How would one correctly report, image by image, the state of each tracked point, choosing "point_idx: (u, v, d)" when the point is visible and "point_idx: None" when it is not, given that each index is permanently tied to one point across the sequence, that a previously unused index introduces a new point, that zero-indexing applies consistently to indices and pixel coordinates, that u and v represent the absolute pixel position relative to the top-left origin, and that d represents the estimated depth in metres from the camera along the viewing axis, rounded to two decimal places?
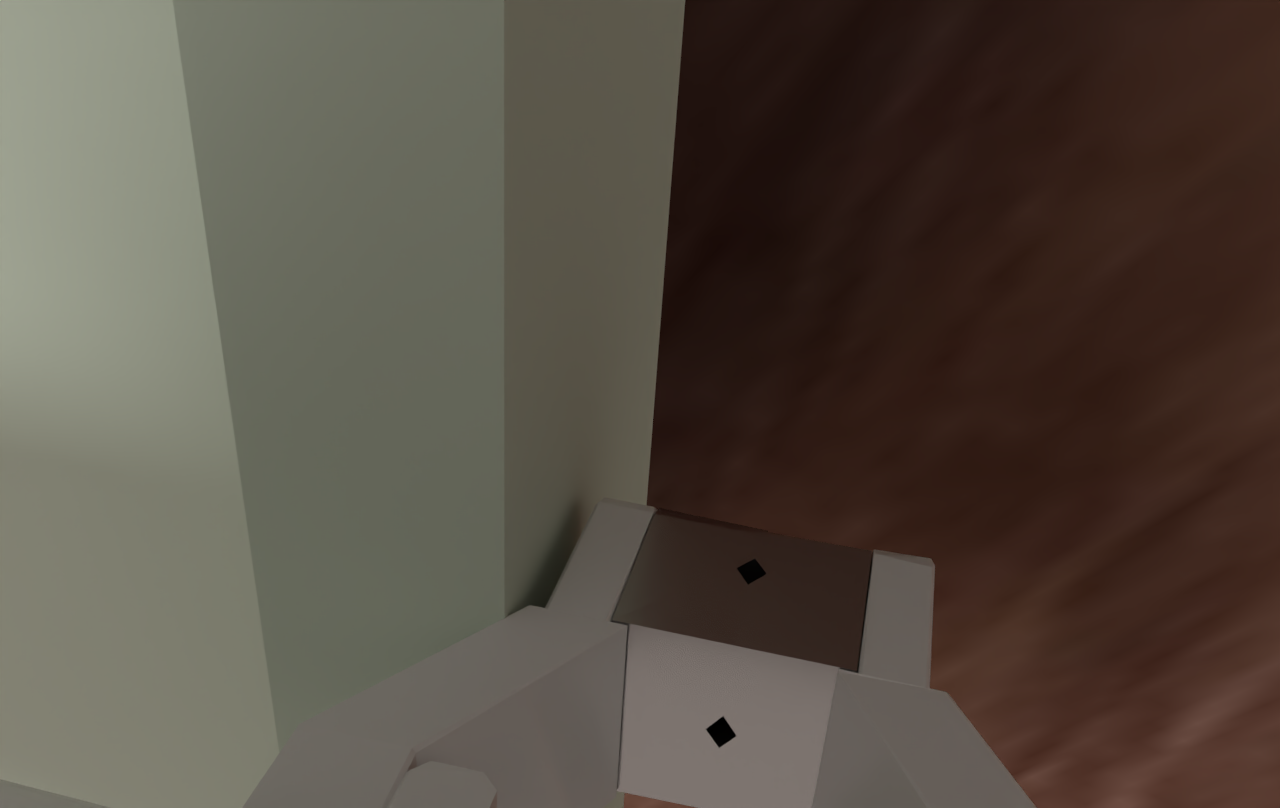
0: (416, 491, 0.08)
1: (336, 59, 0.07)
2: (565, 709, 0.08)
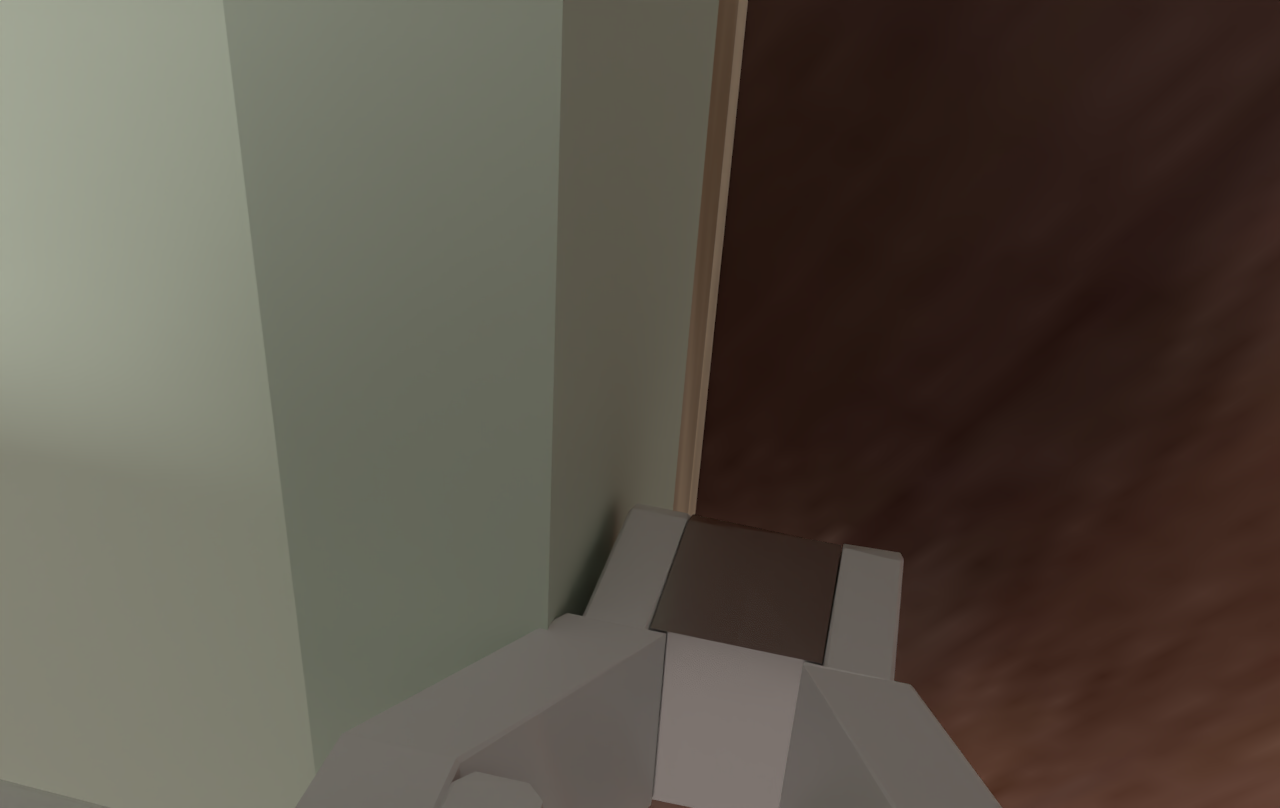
0: (461, 502, 0.08)
1: (390, 69, 0.07)
2: (605, 718, 0.08)
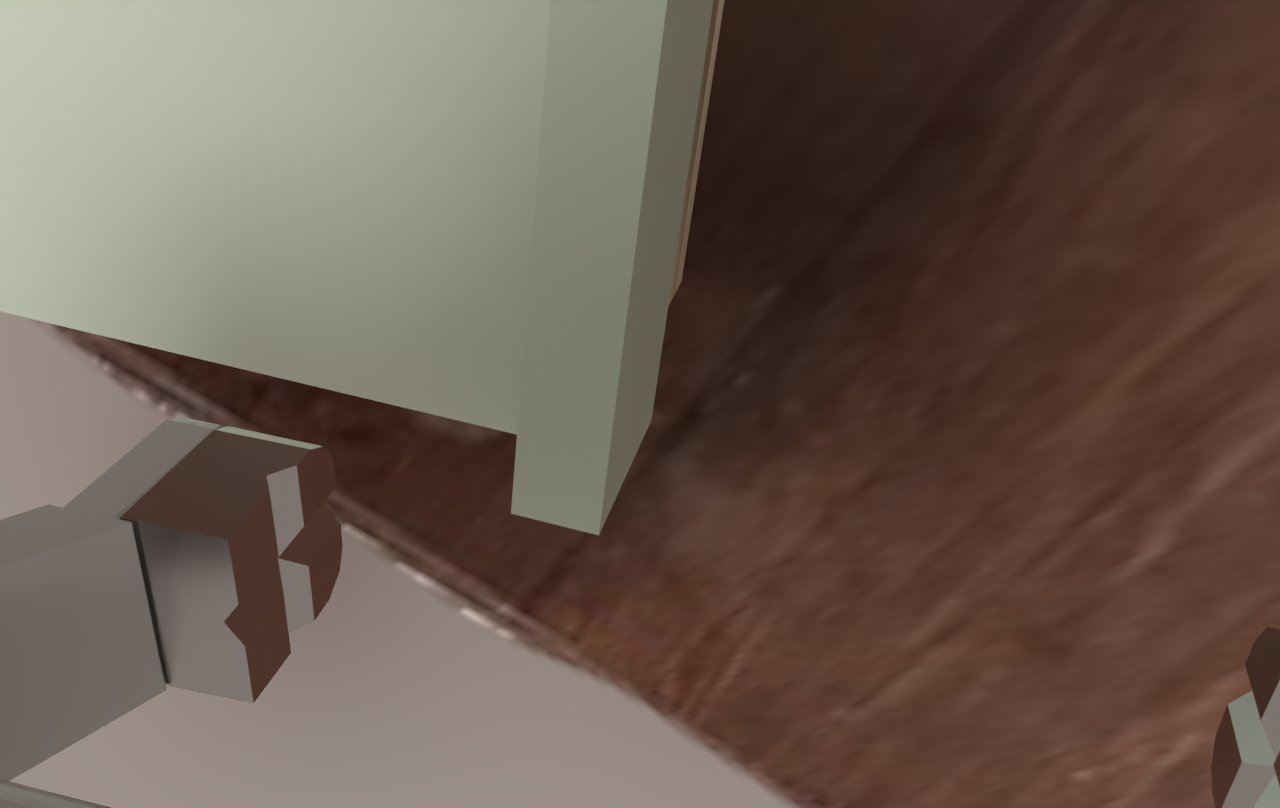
0: (619, 84, 0.20)
1: None
2: (64, 597, 0.09)
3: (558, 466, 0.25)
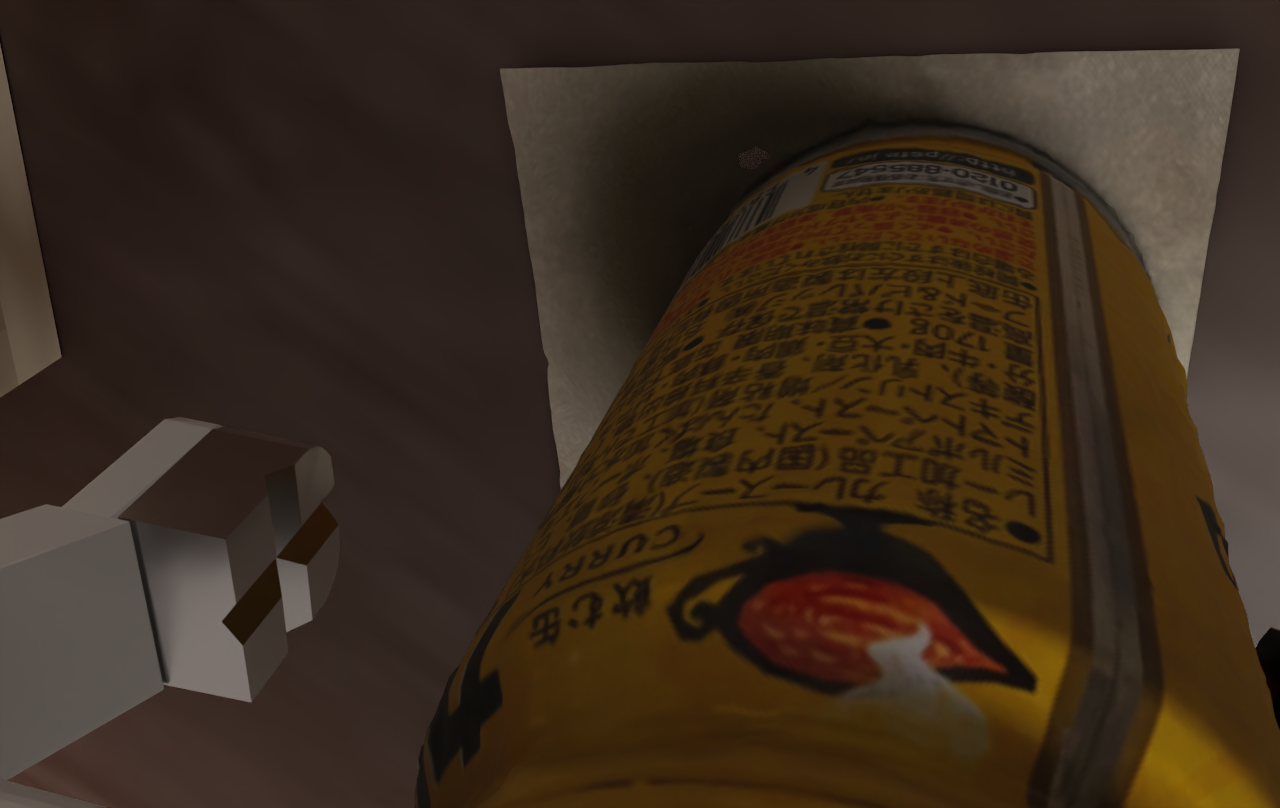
0: None
1: None
2: (62, 596, 0.09)
3: None
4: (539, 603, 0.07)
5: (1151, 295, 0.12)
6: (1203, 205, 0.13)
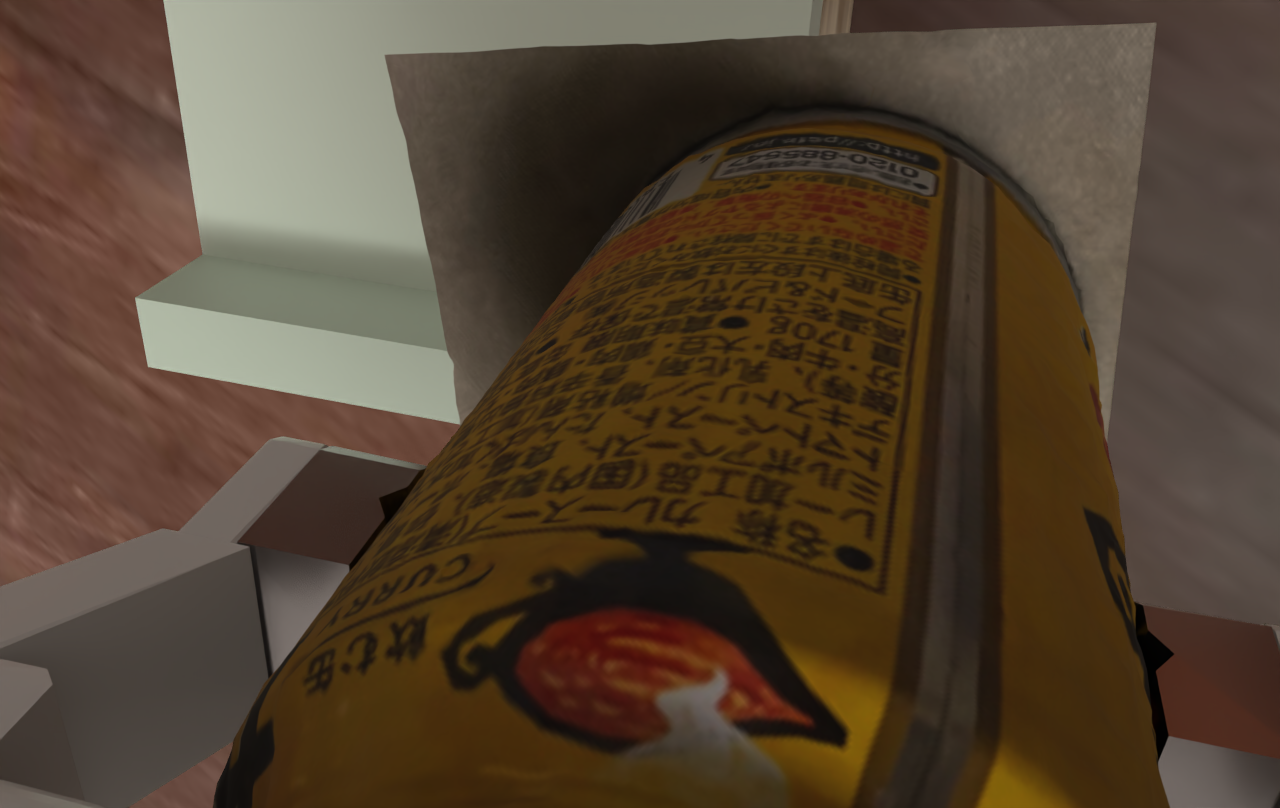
0: None
1: None
2: (183, 624, 0.09)
3: (193, 340, 0.30)
4: (319, 643, 0.07)
5: (1063, 287, 0.11)
6: (1125, 191, 0.13)
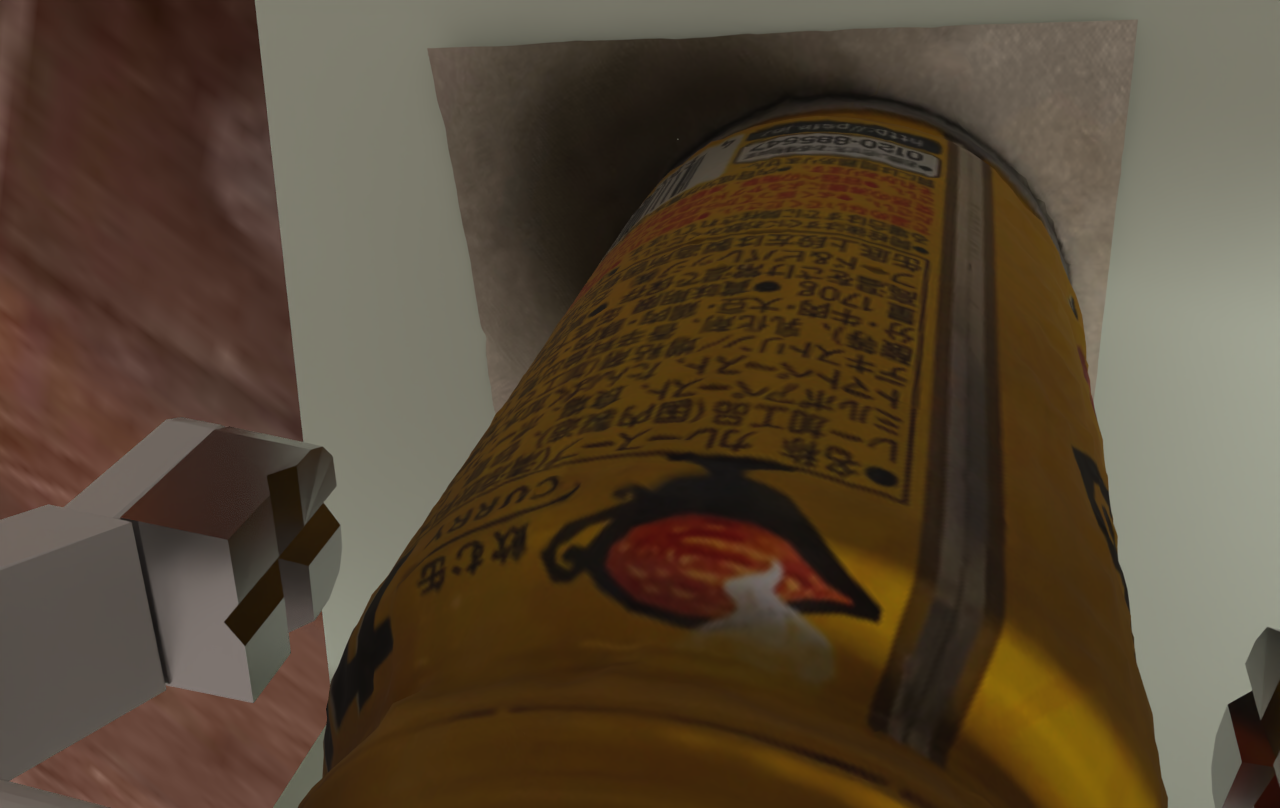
0: None
1: None
2: (64, 597, 0.09)
3: None
4: (427, 555, 0.08)
5: (1054, 260, 0.13)
6: (1110, 173, 0.14)
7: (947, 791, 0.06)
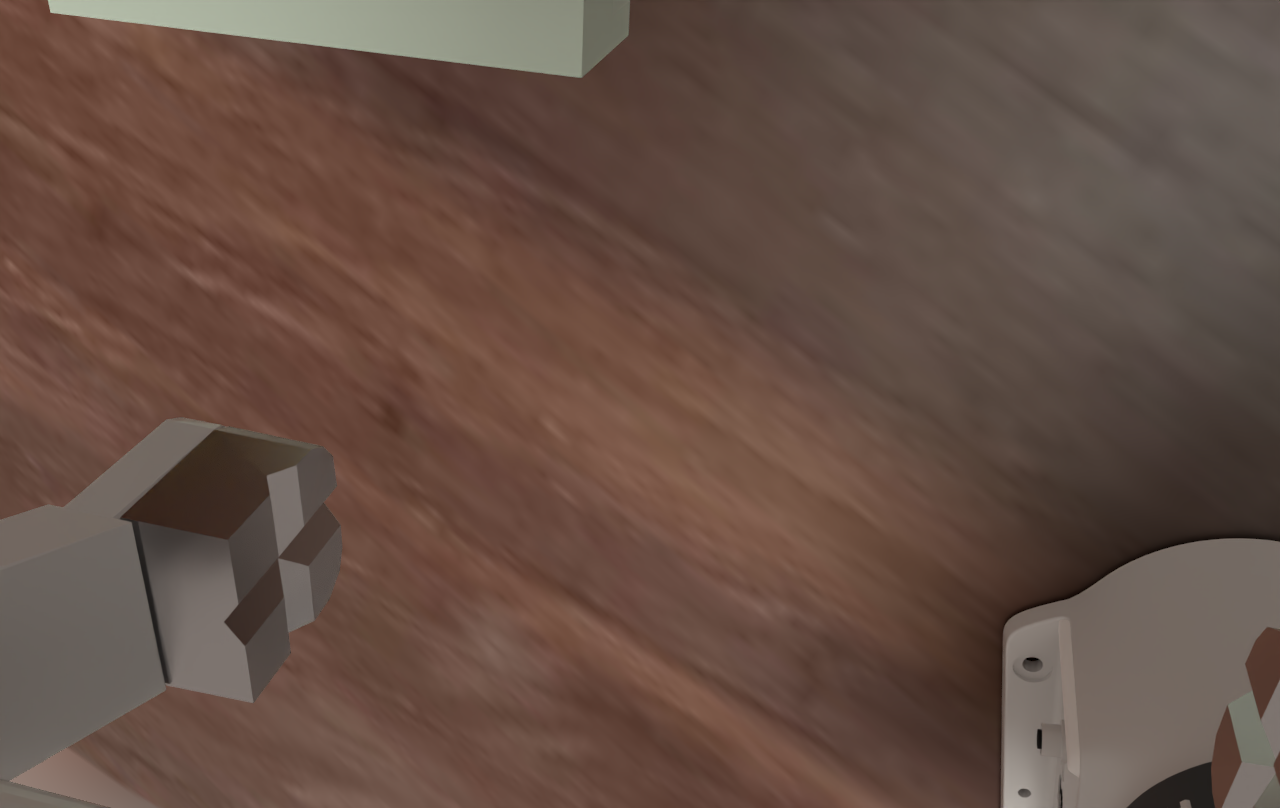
0: (360, 27, 0.32)
1: (461, 25, 0.31)
2: (64, 597, 0.09)
3: None
4: None
5: None
6: None
7: None
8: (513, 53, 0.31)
